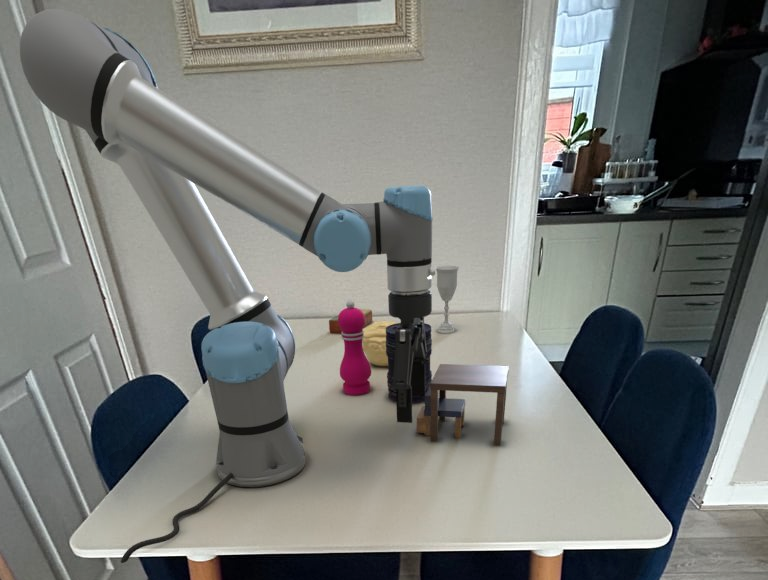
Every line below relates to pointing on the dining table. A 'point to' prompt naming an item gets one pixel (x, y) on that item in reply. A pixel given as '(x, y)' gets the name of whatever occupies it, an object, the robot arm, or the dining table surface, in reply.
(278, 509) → the dining table surface
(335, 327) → the carton
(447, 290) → the chalice
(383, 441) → the dining table surface
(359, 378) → the pepper mill
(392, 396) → the dark blue barrel
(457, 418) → the blue toy chair
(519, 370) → the dining table surface
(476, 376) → the little table
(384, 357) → the sculpture
